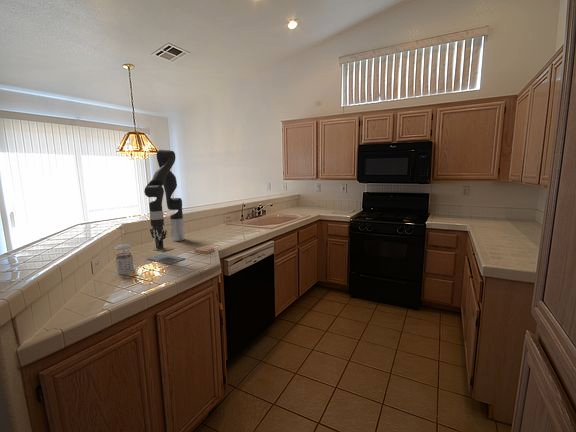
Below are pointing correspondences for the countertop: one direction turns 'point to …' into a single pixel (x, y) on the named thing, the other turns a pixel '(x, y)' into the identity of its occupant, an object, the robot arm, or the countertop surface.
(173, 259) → the mat
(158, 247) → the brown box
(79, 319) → the countertop surface
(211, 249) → the tile
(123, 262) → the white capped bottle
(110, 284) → the countertop surface
